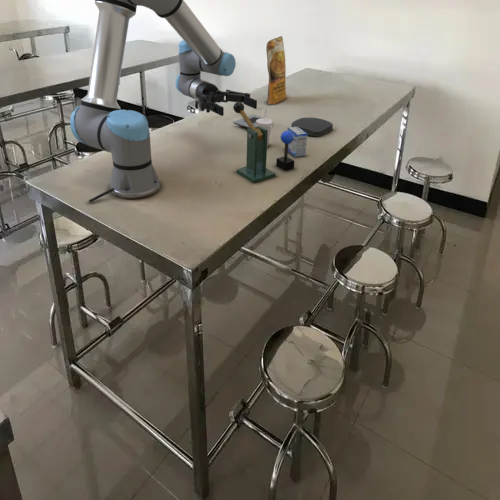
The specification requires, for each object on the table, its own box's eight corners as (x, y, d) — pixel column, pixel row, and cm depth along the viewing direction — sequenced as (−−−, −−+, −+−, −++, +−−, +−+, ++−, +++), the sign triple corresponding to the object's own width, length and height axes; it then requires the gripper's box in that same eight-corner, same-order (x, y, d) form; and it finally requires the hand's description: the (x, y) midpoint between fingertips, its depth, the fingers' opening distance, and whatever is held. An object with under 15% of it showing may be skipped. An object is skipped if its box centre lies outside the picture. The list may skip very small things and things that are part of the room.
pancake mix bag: (259, 103, 230) (261, 40, 214) (278, 94, 243) (282, 34, 228) (271, 106, 227) (274, 42, 211) (290, 96, 240) (294, 36, 225)
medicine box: (285, 149, 183) (287, 127, 178) (296, 148, 185) (297, 126, 180) (295, 157, 177) (297, 134, 172) (306, 155, 179) (308, 133, 174)
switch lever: (230, 108, 161) (233, 100, 158) (238, 106, 163) (242, 98, 160) (253, 142, 156) (256, 135, 154) (262, 140, 158) (265, 133, 155)
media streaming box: (317, 138, 193) (318, 131, 192) (287, 130, 201) (287, 123, 199) (335, 129, 203) (336, 122, 202) (306, 121, 210) (306, 114, 209)
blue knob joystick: (284, 171, 167) (287, 134, 159) (275, 166, 170) (277, 130, 163) (294, 168, 169) (297, 131, 162) (285, 163, 172) (287, 127, 165)
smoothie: (275, 145, 186) (277, 109, 178) (263, 150, 182) (265, 113, 174) (262, 141, 190) (264, 105, 182) (251, 145, 186) (252, 109, 178)
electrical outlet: (252, 119, 211) (253, 113, 210) (272, 124, 206) (272, 119, 204) (233, 126, 202) (233, 121, 201) (252, 133, 197) (252, 127, 196)
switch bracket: (236, 172, 165) (237, 127, 156) (257, 166, 170) (259, 122, 161) (254, 183, 159) (255, 136, 150) (275, 176, 163) (278, 131, 154)
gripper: (233, 97, 182) (268, 112, 168) (174, 108, 169) (208, 126, 155) (233, 77, 178) (269, 90, 164) (173, 86, 165) (207, 102, 151)
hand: (239, 108), depth 160 cm, fingers open, 13 cm apart
